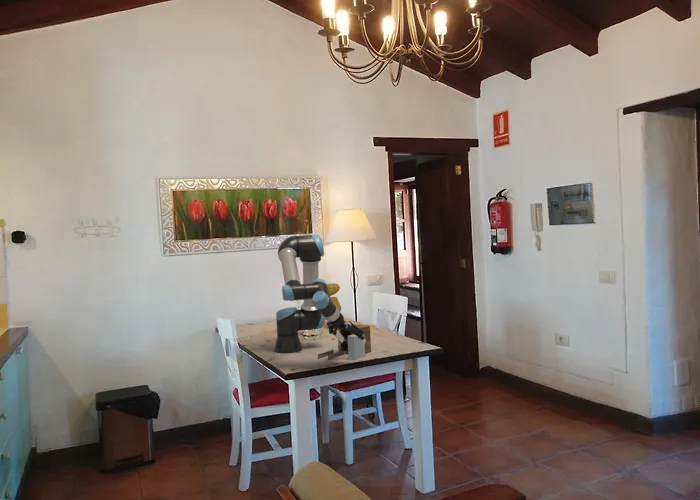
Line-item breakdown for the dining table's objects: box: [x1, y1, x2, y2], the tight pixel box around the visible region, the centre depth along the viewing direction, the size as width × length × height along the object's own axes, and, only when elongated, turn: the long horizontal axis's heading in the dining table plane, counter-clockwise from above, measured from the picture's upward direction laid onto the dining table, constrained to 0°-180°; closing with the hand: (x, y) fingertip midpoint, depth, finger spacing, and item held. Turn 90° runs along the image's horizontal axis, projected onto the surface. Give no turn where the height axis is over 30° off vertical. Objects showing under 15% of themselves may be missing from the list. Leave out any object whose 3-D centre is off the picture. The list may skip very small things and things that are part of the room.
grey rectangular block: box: [347, 334, 366, 362], centre depth 291 cm, size 4×9×12 cm, turn 144°
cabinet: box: [317, 323, 372, 360], centre depth 300 cm, size 17×24×14 cm
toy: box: [324, 282, 342, 330], centre depth 385 cm, size 16×12×30 cm
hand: (353, 341), depth 288 cm, fingers open, 13 cm apart
